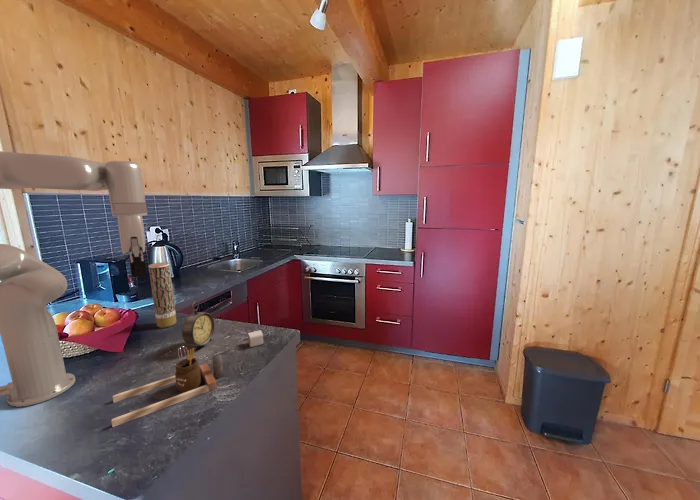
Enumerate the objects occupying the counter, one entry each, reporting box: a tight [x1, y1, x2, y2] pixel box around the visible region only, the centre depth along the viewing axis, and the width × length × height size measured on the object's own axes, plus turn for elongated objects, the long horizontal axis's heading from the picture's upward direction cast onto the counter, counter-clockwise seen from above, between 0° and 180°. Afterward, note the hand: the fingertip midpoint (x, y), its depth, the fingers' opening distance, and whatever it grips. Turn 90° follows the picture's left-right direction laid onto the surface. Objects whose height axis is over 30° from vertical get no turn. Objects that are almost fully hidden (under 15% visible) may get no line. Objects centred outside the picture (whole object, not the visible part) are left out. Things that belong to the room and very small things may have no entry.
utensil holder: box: [175, 345, 202, 393], centre depth 78 cm, size 6×6×12 cm
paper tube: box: [148, 262, 177, 329], centre depth 115 cm, size 7×7×25 cm
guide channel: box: [110, 354, 224, 428], centre depth 77 cm, size 25×11×6 cm, turn 127°
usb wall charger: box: [240, 329, 265, 348], centre depth 101 cm, size 4×7×4 cm, turn 121°
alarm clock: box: [181, 300, 215, 354], centre depth 99 cm, size 11×5×16 cm, turn 168°
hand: (138, 272), depth 80 cm, fingers open, 9 cm apart
